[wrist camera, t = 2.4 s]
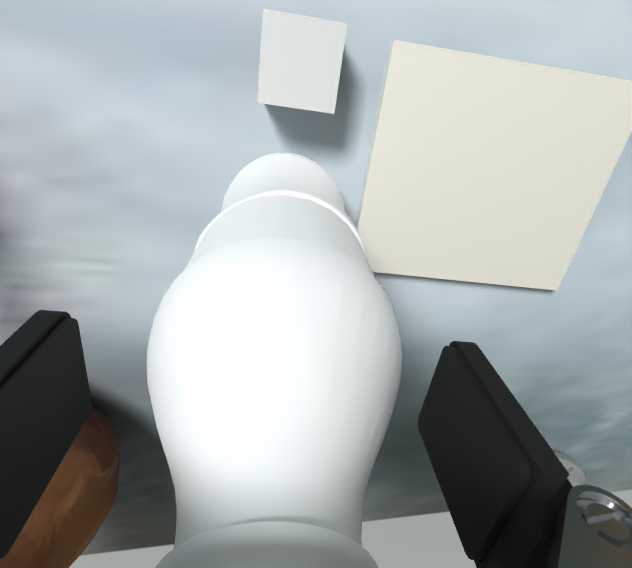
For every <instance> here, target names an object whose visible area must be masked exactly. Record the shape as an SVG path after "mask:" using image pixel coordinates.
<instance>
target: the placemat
mask: <svg viewBox="0 0 632 568" xmlns="http://www.w3.org/2000/svg"><path fill="white" fill-rule="evenodd" d="M631 131H632V81H631V80H625V79H619V78H614V77H608V76H602V75H596V74H590V73H584V72H578V71H573V70H567V69H561V68H555V67H549V66H543V65H538V64H532V63H526V62H520V61H514V60H508V59H503V58H497V57H491V56H485V55H479V54H473V53H468V52H462V51H456V50H450V49H444V48H438V47H432V46H427V45H421V44H415V43H409V42H403V41H397V40H393V41H390V44H389V50H388V55H387V60H386V65H385V71H384V76H383V81H382V87H381V92H380V97H379V102H378V108H377V113H376V118H375V123H374V129H373V134H372V139H371V145H370V150H369V155H368V160H367V166H366V171H365V176H364V182H363V187H362V192H361V197H360V203H359V208H358V213H357V219H356V224H355V226H356V228H357V230H358V232H359V234H360V237H361V239H362V241H363V243H364V246H365V249H366V252H367V257H368V263H369V265H370V267H371V270H372V272H379V273H389V274H398V275H408V276H418V277H428V278H438V279H448V280H458V281H468V282H478V283H487V284H497V285H507V286H517V287H527V288H537V289H547V290H558V288H559V286H560V283H561V281H562V279H563V277H564V275H565V273H566V271H567V268H568V266H569V264H570V262H571V260H572V258H573V256H574V253H575V251H576V249H577V247H578V245H579V243H580V241H581V238H582V236H583V234H584V232H585V230H586V228H587V226H588V223H589V221H590V219H591V217H592V215H593V213H594V211H595V208H596V206H597V204H598V202H599V200H600V198H601V196H602V193H603V191H604V189H605V187H606V185H607V183H608V181H609V178H610V176H611V174H612V172H613V170H614V168H615V166H616V163H617V161H618V159H619V157H620V155H621V153H622V151H623V148H624V146H625V144H626V142H627V140H628V138H629V136H630V133H631Z"/></svg>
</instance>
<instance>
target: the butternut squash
mask: <svg viewBox="0 0 632 568" xmlns="http://www.w3.org/2000/svg"><path fill="white" fill-rule="evenodd" d="M119 458H120V444H119V441H118V439H117V436H116V433H115V431H114V428H113V426H112V424H111V423H110V421H109V420H108V419H107V418H106V417H105V416H104V415H103V414H101V413H100V412H99V411H97V410H96V409H94V408H93V407H91V409H90V413H89V415H88V417H87V419H86V421H85V422H84V424H83V426H82V427H81V429H80V431H79V433H78V434H77V436H76V438H75V439H74V441H73V443H72V445H71V446H70V448H69V450H68V451H67V453H66V455H65V457H64V458H63V460H62V462H61V463H60V465H59V467H58V469H57V470H56V472H55V474H54V475H53V477H52V479H51V481H50V482H49V484H48V486H47V487H46V489H45V491H44V493H43V494H42V496H41V498H40V499H39V501H38V503H37V505H36V506H35V508H34V510H33V511H32V513H31V515H30V517H29V518H28V520H27V522H26V523H25V525H24V527H23V529H22V530H21V532H20V534H19V535H18V537H17V539H16V541H15V542H14V544H13V546H12V547H11V549H10V550H9V552H8V553H7V554H6V556H5V557H3V558H2V559H0V568H69V567H70V566H71V564H72V563H73V562H74V561H75V560H76V559H77V558H78V557H79V556H80V555H81V554H82V552H83V551H84V550H85V548H86V547H87V546H88V544H89V543H90V542H91V540H92V539H93V538H94V536H95V535H96V533H97V531H98V529H99V528H100V526H101V524H102V522H103V520H104V519H105V517H106V515H107V513H108V512H109V510H110V508H111V506H112V504H113V502H114V500H115V497H116V493H117V491H118V487H117V484H118V471H119Z"/></svg>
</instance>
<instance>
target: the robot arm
mask: <svg viewBox="0 0 632 568" xmlns="http://www.w3.org/2000/svg"><path fill="white" fill-rule="evenodd" d="M90 409H91V396H90V390H89V384H88V379H87V373H86V367H85V361H84V355H83V349H82V343H81V337H80V331H79V325H78V321H77V320H76V319H74V318H71V316H70V315H69V313H67V312H61V311H47V310H39V311H38V312H36V313H35V314H34V315H33V316H32V317H31V318H30V319H28V320H27V321H26V322H25V323H24V324H23V325H22V326H21V327H20V328H19V329H18V330H17V331H16V332H15V333H14V334H13V335H11V336H10V337H9V338H8V339H7V340H6V341H5V342H4V343H3V344H2V345H1V346H0V559H2V558H3V557H5V556H6V554H7V553H8V552H9V550H10V549H11V547H12V546H13V544H14V542H15V541H16V539H17V537H18V535H19V534H20V532H21V530H22V529H23V527H24V525H25V523H26V522H27V520H28V518H29V517H30V515H31V513H32V511H33V510H34V508H35V506H36V505H37V503H38V501H39V499H40V498H41V496H42V494H43V493H44V491H45V489H46V487H47V486H48V484H49V482H50V481H51V479H52V477H53V475H54V474H55V472H56V470H57V469H58V467H59V465H60V463H61V462H62V460H63V458H64V457H65V455H66V453H67V451H68V450H69V448H70V446H71V445H72V443H73V441H74V439H75V438H76V436H77V434H78V433H79V431H80V429H81V427H82V426H83V424H84V422H85V421H86V419H87V417H88V415H89V413H90ZM418 427H419V432H420V434H421V437H422V440H423V442H424V445H425V447H426V450H427V453H428V455H429V458H430V461H431V463H432V466H433V469H434V471H435V474H436V477H437V479H438V482H439V485H440V487H441V490H442V492H443V495H444V498H445V500H446V503H447V506H448V508H449V511H450V514H451V516H452V519H453V521H454V524H455V527H456V529H457V532H458V535H459V537H460V540H461V542H462V545H463V547H464V551H465V553H466V555H467V556H468V558H469V559H471V560H474V562H475V564H476V567H477V568H632V508H631V507H630V506H629V505H628V504H626V503H625V502H624V501H623V500H621V499H620V498H618V497H616V496H615V495H613V494H612V493H610V492H608V491H606V490H603V489H601V488H599V487H596V486H591V485H587V484H586V479H585V476H584V474H583V472H582V470H581V469H580V468H579V466H578V465H577V464H576V462H575V461H574V460H572V459H571V458H570V457H568V456H566V455H564V454H561V453H558V452H553V450H552V449H551V448H550V446H549V445H548V443H547V442H546V441H545V439H544V438H543V436H542V435H541V434H540V432H539V431H538V429H537V428H536V427H535V425H534V424H533V422H532V421H531V420H530V418H529V417H528V415H527V414H526V413H525V411H524V410H523V408H522V407H521V406H520V404H519V403H518V401H517V400H516V399H515V397H514V396H513V394H512V393H511V392H510V390H509V389H508V388H507V386H506V385H505V383H504V382H503V381H502V379H501V378H500V376H499V375H498V374H497V372H496V371H495V369H494V368H493V367H492V365H491V364H490V362H489V361H488V360H487V358H486V357H485V355H484V354H483V353H482V351H481V350H480V348H479V347H478V346H477V345H476V344H475V343H473V342H460V341H453V342H451V343H450V345H449V346H445V347H444V348H443V350H442V353H441V356H440V359H439V361H438V364H437V367H436V370H435V373H434V376H433V378H432V381H431V384H430V387H429V390H428V392H427V395H426V398H425V401H424V404H423V407H422V409H421V412H420V415H419V419H418Z"/></svg>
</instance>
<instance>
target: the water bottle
mask: <svg viewBox="0 0 632 568" xmlns="http://www.w3.org/2000/svg"><path fill="white" fill-rule="evenodd" d="M401 370H402V345H401V338H400V333H399V327H398V323H397V320H396V317H395V313H394V310H393V307H392V304H391V302H390V300H389V299H388V297H387V295H386V293H385V291H384V289H383V288H382V286H381V285H380V284H379V283H378V282H377V280H376V279H375V276H374V274H373V272H372V270H371V267H370V265H369V263H368V257H367V252H366V249H365V246H364V243H363V241H362V239H361V237H360V234H359V232H358V230H357V228H356V226H355V225H354V223H353V221H352V220H351V218H350V217H349V216H348V215H347V214H346V212H345V207H344V202H343V199H342V196H341V193H340V191H339V189H338V187H337V185H336V183H335V182H334V180H333V179H332V177H331V176H330V174H329V173H328V172H327V171H326V170H325V169H323V168H322V167H321V166H320V165H318V164H317V163H316V162H314V161H313V160H311V159H309V158H307V157H305V156H302V155H298V154H294V153H284V152H280V153H272V154H268V155H265V156H262V157H259V158H257V159H255V160H254V161H252V162H251V163H249V164H248V165H247V166H245V167H244V168H243V169H242V170H241V171H240V172H239V173H238V175H237V176H236V177H235V178H234V180H233V181H232V183H231V185H230V186H229V188H228V190H227V192H226V195H225V197H224V200H223V204H222V212H221V213H220V214H219V215H218V216H216V217H215V218H214V219H213V220H212V221H211V222H210V223H209V225H208V226H207V227H206V228H205V229H204V231H203V232H202V234H201V235H200V237H199V239H198V241H197V244H196V247H195V251H194V254H193V256H192V257H191V259H190V261H189V263H188V264H187V266H186V268H185V270H184V271H183V272H182V273H181V274H180V275H179V276H178V277H177V278H176V279H175V280H174V281H173V283H172V284H171V286H170V287H169V289H168V290H167V292H166V293H165V295H164V296H163V299H162V301H161V303H160V306H159V308H158V311H157V313H156V315H155V318H154V321H153V325H152V329H151V333H150V337H149V343H148V350H147V380H148V389H149V393H150V398H151V403H152V407H153V412H154V417H155V421H156V426H157V430H158V433H159V436H160V440H161V443H162V446H163V449H164V452H165V455H166V459H167V462H168V465H169V468H170V472H171V476H172V480H173V484H174V488H175V498H176V509H177V518H176V535H175V543H174V549H173V550H172V551H171V552H169V553H168V554H167V555H166V556H165V557H164V558H163V559H162V560H161V562H160V563H159V564H158V565H157V566H156V568H378V567H377V564H376V562H375V561H374V559H373V558H372V556H371V555H370V554H369V553H368V551H366V550H365V549H364V548H363V547H362V545H361V544H362V543H361V530H362V505H363V500H364V494H365V490H366V486H367V483H368V480H369V477H370V474H371V471H372V468H373V465H374V462H375V460H376V457H377V455H378V452H379V450H380V447H381V444H382V442H383V439H384V437H385V434H386V431H387V429H388V426H389V423H390V419H391V416H392V413H393V409H394V406H395V402H396V399H397V395H398V391H399V386H400V380H401Z"/></svg>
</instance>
